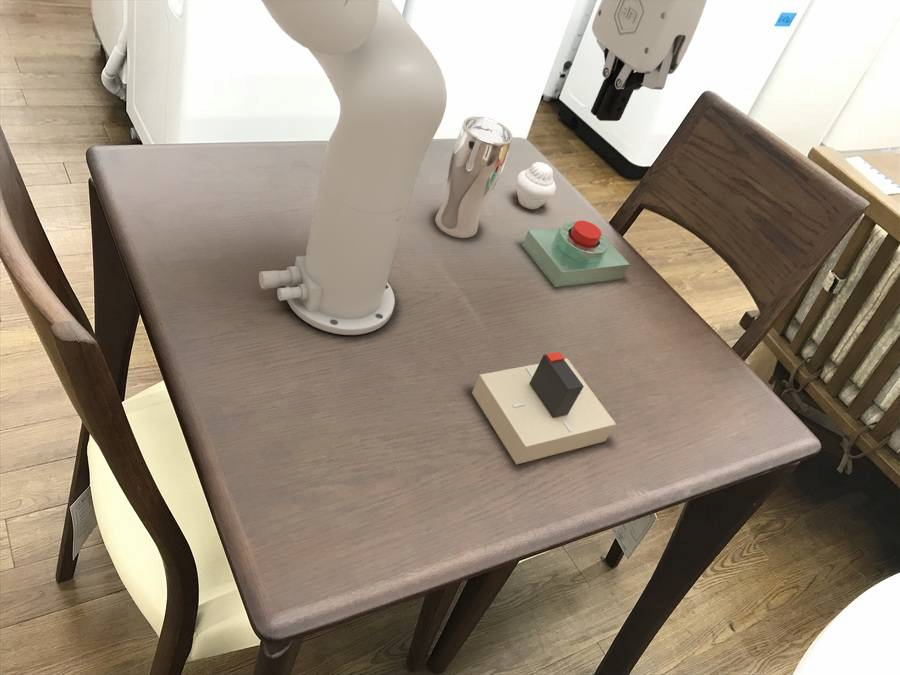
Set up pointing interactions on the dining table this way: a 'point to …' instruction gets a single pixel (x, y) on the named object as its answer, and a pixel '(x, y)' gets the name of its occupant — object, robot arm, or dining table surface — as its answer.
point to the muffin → (535, 185)
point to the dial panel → (538, 416)
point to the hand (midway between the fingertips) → (604, 116)
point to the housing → (573, 257)
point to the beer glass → (472, 174)
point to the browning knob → (556, 384)
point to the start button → (585, 234)
